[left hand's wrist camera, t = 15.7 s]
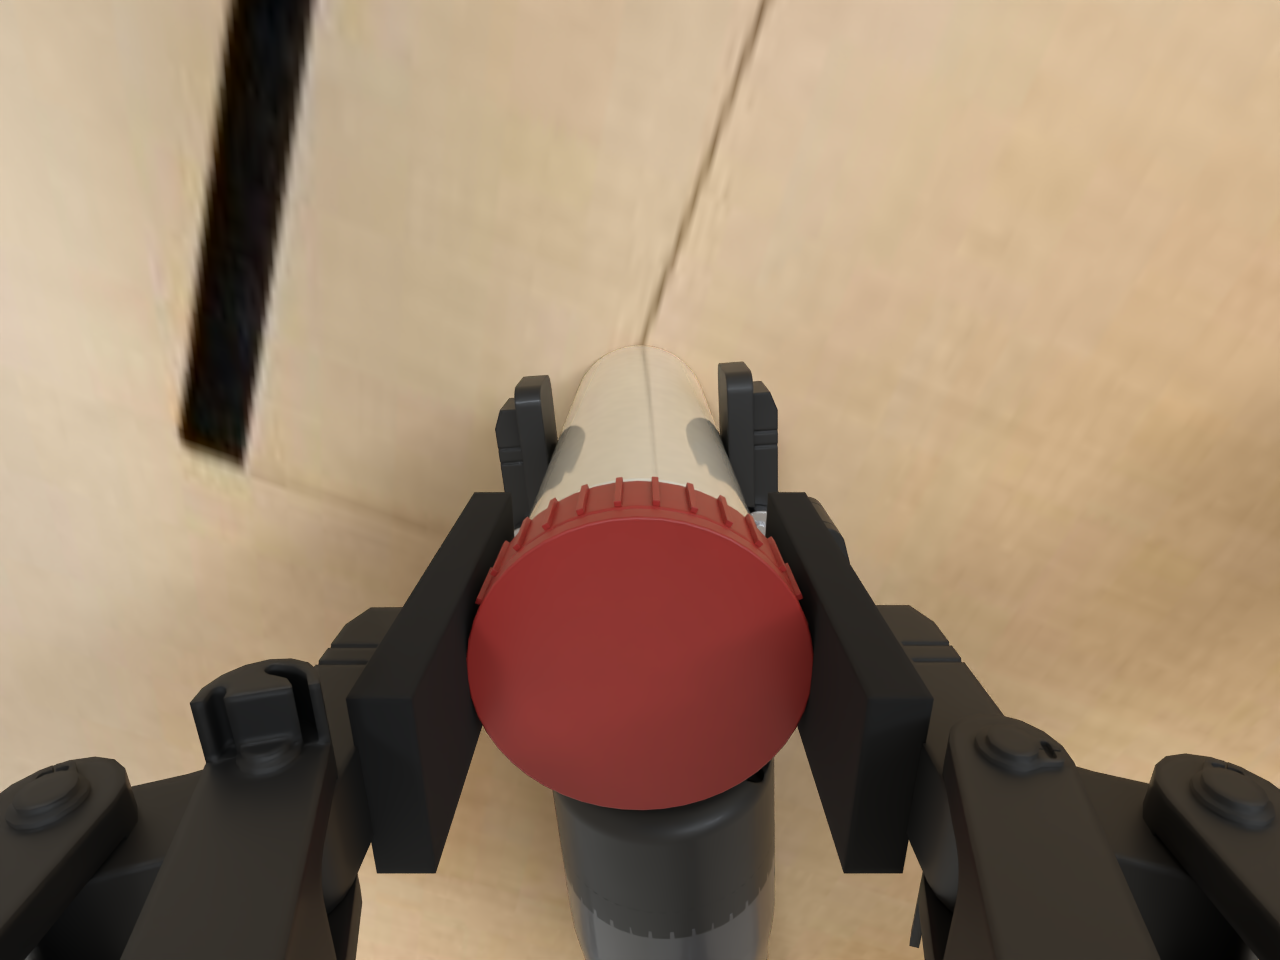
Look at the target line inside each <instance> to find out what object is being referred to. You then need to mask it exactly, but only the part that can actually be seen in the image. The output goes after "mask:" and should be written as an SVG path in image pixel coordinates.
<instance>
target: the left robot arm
mask: <svg viewBox="0 0 1280 960" xmlns="http://www.w3.org/2000/svg"><path fill="white" fill-rule="evenodd" d="M765 537H766V538H767V539H768V538H769V537H772V538H773V539H774V540H775V543H776V545H777V547H778V550H779V552H780V554H781V557H782V559H783V561H784V563H788V565H789V567H790V569H791V571H792V574H793V576H794V578H795V580H796V583H797V585H798V587H799V589H800V592H801V594H802V596H803V599H801V600H799V603H800V605H801V607H802V610H803V612H804V614H805V617H806V619H807V622H808V627H809V630H810V633H811V639H812V645H813V667H812V677H811V686H810V695H809V698H808V701H807V704H806V708H805V711H804V713H803V715H802V717H801V719H800V721H799V723H798V725H797V726H798V730H799V733H800V736H801V739H802V742H803V745H804V749H805V752H806V755H807V758H808V761H809V764H810V768H811V771H812V774H813V777H814V780H815V783H816V787H817V790H818V793H819V796H820V799H821V802H822V805H823V809H824V812H825V815H826V818H827V821H828V824H829V828H830V831H831V834H832V837H833V840H834V843H835V847H836V850H837V853H838V856H839V859H840V862H841V866H842V869H843V872H844V873H903V868H904V863H905V857H906V851H907V846H908V840H909V841H910V843H911V845H912V848H913V850H914V852H915V855H916V857H917V859H918V861H919V864H920V866H921V868H922V870H923V873H922V878H921V883H920V889H919V894H918V899H917V904H916V909H915V914H914V920H913V925H912V930H911V938H910V945H909V946H913V947H917V948H919V945H920V940H921V935H922V941H923V949H924V958H925V960H1258V959H1259V960H1280V789H1278V788H1277V787H1276V786H1274V785H1273V784H1272V783H1270V782H1269V781H1267V780H1265V779H1263V778H1261V777H1259V776H1257V775H1255V774H1253V773H1251V772H1249V771H1247V770H1245V769H1244V768H1242V767H1239V766H1237V765H1234V764H1231V763H1229V762H1228V763H1227V762H1224V761H1222V760H1218V759H1215V758H1212V757H1206V756H1199V755H1192V754H1179V755H1171V756H1166V757H1164V758H1163V759H1162V760H1161V761H1160V762H1159V763H1157V764H1156V765H1155V768H1154V771H1153V774H1152V777H1151V780H1150V783H1149V784H1148V783H1143V782H1139V781H1134V780H1130V779H1125V778H1121V777H1116V776H1112V775H1107V774H1103V773H1098V772H1094V771H1090V770H1087V769H1083V768H1080V767H1076V766H1075V763H1074V761H1073V760H1072V759H1071V757H1070V756H1069V754H1068V753H1067V752H1066V750H1065V749H1064V748H1063V746H1062V745H1060V744H1059V743H1058V742H1057V741H1055V740H1054V739H1053V738H1051V737H1050V736H1049V735H1048V734H1046V733H1045V732H1044V731H1041V730H1039V729H1037V728H1035V727H1033V726H1031V725H1029V724H1027V723H1025V722H1023V721H1020V720H1017V719H1013V718H1009V717H1005V716H1004V715H1003V714H1002V712H1001V711H1000V710H999V708H998V707H997V706H996V704H995V703H994V702H993V700H992V699H991V698H990V696H989V695H988V694H987V692H986V691H985V690H984V688H983V687H982V686H981V684H980V683H979V681H978V680H977V679H976V677H975V676H974V675H973V673H972V672H971V671H970V669H969V668H968V667H967V665H966V664H965V663H964V662H961V657H960V656H959V655H958V653H957V652H956V651H955V649H954V648H953V647H952V646H949V641H948V640H947V639H946V637H945V636H944V635H943V633H942V632H941V631H940V629H939V628H938V627H937V625H936V624H935V623H934V622H933V621H932V620H930V619H929V618H927V617H926V616H924V615H923V614H921V613H920V612H918V611H917V610H915V609H914V608H912V607H911V606H909V605H875V604H874V602H873V600H872V599H871V597H870V596H869V594H868V592H867V591H866V589H865V588H864V586H863V584H862V583H861V581H860V580H859V578H858V576H857V575H856V573H855V572H854V570H853V568H852V567H851V565H850V564H849V562H848V560H847V559H846V557H845V556H844V554H843V552H842V551H841V549H840V548H839V546H838V544H837V543H836V541H835V540H834V538H833V536H832V535H831V533H830V532H829V530H828V528H827V527H826V525H825V524H824V522H823V520H822V519H821V517H820V516H819V514H818V512H817V511H816V509H815V508H814V506H813V504H812V503H811V501H810V500H809V498H808V496H807V495H806V493H805V492H768V503H767V517H766V531H765ZM513 538H514V523H513V509H512V495H511V492H474V494H473V496H472V497H471V499H470V500H469V502H468V504H467V505H466V507H465V508H464V510H463V512H462V513H461V515H460V516H459V518H458V520H457V521H456V523H455V524H454V526H453V528H452V529H451V531H450V532H449V534H448V536H447V537H446V539H445V540H444V542H443V544H442V545H441V547H440V548H439V550H438V552H437V553H436V555H435V556H434V558H433V560H432V561H431V563H430V564H429V566H428V568H427V569H426V571H425V572H424V574H423V576H422V577H421V579H420V580H419V582H418V584H417V585H416V587H415V588H414V590H413V592H412V593H411V595H410V596H409V598H408V600H407V601H406V603H405V604H404V606H403V607H371V608H369V609H368V610H366V611H365V612H363V613H362V614H360V615H359V616H357V617H356V618H355V619H353V620H352V621H350V622H349V623H347V624H346V625H345V626H344V627H343V629H342V630H341V632H340V633H339V634H338V636H337V637H336V638H335V640H334V641H333V642H332V644H331V648H328V649H327V650H326V652H325V653H324V654H323V656H322V657H321V658H320V660H319V665H315V667H313V666H312V665H311V664H310V663H308V662H304V661H300V660H295V659H269V660H265V661H261V662H256V663H252V664H248V665H244V666H242V667H240V668H237V669H235V670H233V671H230V672H228V673H226V674H223V675H221V676H220V677H218V678H217V679H215V680H214V681H212V682H211V683H209V684H208V685H206V686H205V687H203V688H202V689H201V690H200V692H199V693H198V694H197V695H196V696H195V697H194V699H193V700H192V701H191V702H190V706H191V710H192V713H193V717H194V720H195V724H196V728H197V731H198V735H199V739H200V742H201V746H202V749H203V753H204V757H205V760H206V765H205V767H204V769H203V770H200V771H197V772H193V773H190V774H186V775H182V776H177V777H173V778H168V779H164V780H159V781H155V782H150V783H146V784H141V785H137V786H132V787H131V785H130V782H129V779H128V776H127V773H126V770H125V768H124V767H123V766H122V765H121V764H119V763H118V762H117V761H116V760H115V759H108V758H101V757H89V758H82V759H75V760H69V761H66V762H63V763H59V764H56V765H54V766H53V765H52V766H50V767H47V768H44V769H42V770H39V771H37V772H36V773H34V774H32V775H30V776H28V777H26V778H24V779H22V780H20V781H18V782H16V783H14V784H12V785H11V786H9V787H8V788H7V789H5V790H4V791H3V792H1V793H0V960H356V951H357V943H358V934H359V925H360V917H361V908H362V897H361V889H360V883H359V878H358V871H359V868H360V866H361V864H362V862H363V859H364V857H365V855H366V853H367V850H368V848H369V846H370V843H372V848H373V854H374V859H375V865H376V871H377V873H436V871H437V867H438V864H439V861H440V858H441V855H442V852H443V848H444V845H445V842H446V839H447V836H448V833H449V829H450V826H451V823H452V820H453V817H454V814H455V810H456V807H457V804H458V801H459V798H460V795H461V791H462V788H463V785H464V782H465V779H466V776H467V773H468V769H469V766H470V763H471V760H472V757H473V754H474V750H475V747H476V744H477V741H478V738H479V735H480V731H481V728H482V723H481V721H480V719H479V717H478V715H477V712H476V710H475V707H474V704H473V701H472V699H471V695H470V690H469V681H468V671H467V660H466V657H467V646H468V638H469V635H470V631H471V627H472V624H473V620H474V618H475V615H476V613H477V611H478V608H479V606H480V605H478V604H475V602H476V599H477V597H478V594H479V592H480V590H481V588H482V585H483V583H484V581H485V578H486V576H487V574H488V572H489V569H490V567H492V568H493V566H494V563H495V561H496V559H497V556H498V554H499V552H500V550H501V547H502V545H503V543H504V542H505V541H508V542H509V543H510V542H511V541H512V540H513Z"/></svg>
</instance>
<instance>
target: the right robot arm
mask: <svg viewBox="0 0 1280 960" xmlns="http://www.w3.org/2000/svg"><path fill="white" fill-rule="evenodd" d="M718 391H719V422H720V437H721V440H722V442H723V445H724V448H725V450H726V453H727V455H728V458H729V460H730V463H731V466H732V468H733V471H734V473H735V476H736V478H737V481H738V484H739V486H740V489H741V491H742V494H743V497H744V499H745V502H746V504H747V507H748V509H749V512H750V515H751V516H752V517H753V519H754V521H755V524H756V526H757V528H758V529H759V530H760V531H761V533H762V534H763V535H764V536H765V531H766V517H767V503H768V492H778V446H777V443H778V432H777V429H778V410H777V407H776V405H775V403H774V400H773V398H772V396H771V393H770V392H769V390H768V389H767V388H766V386H765V385H764V384H763V383H762V381H754V382H753V380H752V374H751V371H750V369H749V368H748V367H747V366H746V364H745V363H744V362H731V363H719V364H718ZM495 431H496V437H497V444H498V448H499V457H500V462H501V470H502V477H503V483H504V490H505V492H511V495H512V509H513V523H514V537H515V536H516V535H517V534H518V532H519V530H520V527H521V525H522V522H523V520H524V519H525V518H526V517H529V515H530V512H531V509H532V507H533V504H534V502H535V499H536V497H537V494H538V491H539V489H540V486H541V484H542V481H543V478H544V476H545V473H546V471H547V468H548V465H549V463H550V460H551V458H552V455H553V453H554V450H555V447H556V445H557V442H558V439H557V431H556V423H555V415H554V406H553V398H552V390H551V383H550V379H549V376H548V375H542V376H528V377H523V378H522V379H521V381H520V382H519V383H518V384H517V386H516V387H515V394H514V398H509V399H508V401H507V402H506V403H505V405H504V406H503V407H502V408H501V410H500V412H499V416H498V420H497V424H496V428H495ZM808 498H809V500H810V501H811V503H812V504H813V506H814V508H815V509H816V511H817V512H818V514H819V516H820V517H821V519H822V520H823V522H824V524H825V525H826V527H827V528H828V530H829V532H830V533H831V535H832V536H833V538H834V540H835V541H836V543H837V544H838V546H839V548H840V549H841V551H842V552H843V554H844V556H845V557H846V559H847V560H848V562H849V558H848V554H847V550H846V545H845V542H844V539H843V537H842V536H841V534H840V533H839V531H838V529H837V528H836V526H835V525H834V523H833V522H832V520H831V519H830V517H829V516H828V514H827V513H826V511H825V510H824V508H823V507H822V505H821V504H820V503H819V501H817V500H816V499H814V498H811V497H808ZM849 564H850V562H849ZM553 796H554V802H555V809H556V816H557V822H558V829H559V836H560V842H561V849H562V855H563V862H564V869H565V876H566V882H567V889H568V896H569V902H570V908H571V913H572V918H573V923H574V928H575V931H576V934H577V937H578V940H579V943H580V946H581V948H582V951H583V954H584V956H585V960H769V954H768V942H769V937H770V932H771V927H772V921H773V913H774V901H775V834H774V757H773V758H772V759H771V760H770V761H769V762H768V763H767V764H766V765H764V766H763V767H762V768H761V769H760V770H759V771H758V772H756V773H755V774H753V775H752V776H750V777H749V778H747V779H746V780H744V781H743V782H741V783H740V784H738V785H736V786H734V787H732V788H730V789H728V790H726V791H725V792H723V793H720V794H717V795H715V796H712V797H710V798H707V799H705V800H702V801H698V802H694V803H691V804H687V805H683V806H677V807H671V808H665V809H652V810H627V809H616V808H609V807H602V806H598V805H594V804H590V803H585V802H581V801H579V800H576V799H573V798H570V797H568V796H565V795H562V794H560V793H558V792H556V791H554V790H553Z"/></svg>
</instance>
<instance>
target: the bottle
mask: <svg viewBox="0 0 1280 960" xmlns="http://www.w3.org/2000/svg"><path fill="white" fill-rule="evenodd" d="M617 477H623V482H628V481H651V479H652V477H658V478H659V482H663V483H669V484H675V485H681V486H684V487H686V484H687V482H688V483H691V484H693V485H694V490H697V491H701V492H703V493H705V494H707V495H710V496H712V497H714V498H716V499H717V498H718V497H719V495H721V496H723V497H725V498H726V501H727V505H729V506H730V507H732V508H734V509H735V510H737V511H738V512H740V513H741V514H742V515H743V516H744V517H745V516H746V515H747V514H748V513H749V514H750V512H749V509H748V507H747V504H746V502H745V499H744V497H743V494H742V491H741V489H740V486H739V484H738V481H737V478H736V476H735V473H734V471H733V468H732V466H731V463H730V460H729V458H728V455H727V453H726V450H725V448H724V445H723V442H722V440H721V437H720V435H719V432H718V429H717V427H716V424H715V422H714V419H713V417H712V414H711V411H710V409H709V406H708V404H707V401H706V398H705V396H704V393H703V391H702V388H701V386H700V383H699V381H698V379H697V377H696V376H695V374H694V373H693V371H692V370H691V369H690V368H689V367H688V366H687V364H686V363H685V362H683V361H682V360H681V359H680V358H678V357H677V356H675V355H674V354H672V353H670V352H668V351H666V350H663V349H660V348H657V347H652V346H646V345H635V346H627V347H623V348H619V349H617V350H614V351H612V352H610V353H608V354H606V355H605V356H603V357H602V358H600V359H599V360H598V361H596V362H595V363H594V364H593V365H592V366H591V367H590V369H589V370H588V371H587V373H586V374H585V376H584V377H583V379H582V381H581V383H580V385H579V388H578V390H577V393H576V396H575V398H574V401H573V403H572V406H571V409H570V411H569V414H568V416H567V419H566V421H565V424H564V427H563V429H562V432H561V434H560V437H559V440H558V442H557V445H556V447H555V450H554V453H553V455H552V458H551V460H550V463H549V465H548V468H547V471H546V473H545V476H544V478H543V481H542V484H541V486H540V489H539V491H538V494H537V497H536V499H535V502H534V504H533V507H532V509H531V512H530V515H529V518H530V519H531V520H532V519H533V518H534V517H535V516H537V515H538V514H539V513H541V512H542V511H544V510H545V509H547V508H548V505H549V502H550V500H551V499H553V498H556V499H557V501H560V500H562V499H564V498H566V497H568V496H570V495H572V494H574V493H577V492H580V490H581V486H582V485H585V484H588V486H589V488H592V487H596V486H600V485H605V484H610V483H615V482H616V478H617Z"/></svg>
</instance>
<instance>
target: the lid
mask: <svg viewBox="0 0 1280 960" xmlns="http://www.w3.org/2000/svg"><path fill="white" fill-rule="evenodd" d="M801 599H803V596H802V594H801V592H800V589H799V587H798V585H797V583H796V580H795V578H794V576H793V574H792V571H791V569H790V567H789V565H788V563H784V561H783V559H782V557H781V554H780V552H779V550H778V547H777V545H776V543H775V540H774V539H773V538H772V537H769V538H768V539H767V538H766V537H765V536H764V535H763V534H762V533H761V531H760V530H759V529H758V528H757V526H756V524H755V521H754V519H753V517H752V516H751V515H750V514H749V513H748V514H747V515H746V516H745V517H744V516H743V515H742V514H741V513H740V512H738V511H737V510H735V509H734V508H732V507H730V506H729V505H727V501H726V498H725V497H723V496H721V495H719V497H718V498H717V499H716V498H714V497H712V496H710V495H707V494H705V493H703V492H701V491H697V490H694V485H693V484H691V483H688V482H687V484H686V487H684V486H681V485H675V484H669V483H663V482H659V478H658V477H652V479H651V481H628V482H623V477H617V478H616V482H615V483H610V484H605V485H600V486H596V487H592V488H589V486H588V484H585V485H582V486H581V490H580V492H577V493H574V494H572V495H570V496H568V497H566V498H564V499H562V500H560V501H557V499H556V498H553V499H551V500H550V502H549V505H548V508H547V509H545V510H544V511H542V512H541V513H539V514H538V515H537V516H535V517H534V518H533V519H532V520H531V519H530V518H529V517H526V518H525V519H524V520H523V522H522V525H521V527H520V530H519V532H518V534H517V535H516V536H515V537H514V538H513V540H512V541H511V542H510V543H509V542H508V541H505V542H504V543H503V545H502V547H501V550H500V552H499V554H498V556H497V559H496V561H495V563H494V566H493V568H492V567H490V569H489V572H488V574H487V576H486V578H485V581H484V583H483V585H482V588H481V590H480V592H479V594H478V597H477V599H476V602H475V604H478V605H480V606H479V608H478V611H477V613H476V615H475V618H474V620H473V624H472V627H471V631H470V635H469V638H468V646H467V657H466V660H467V671H468V681H469V690H470V695H471V699H472V701H473V704H474V707H475V710H476V712H477V715H478V717H479V719H480V721H481V723H482V725H483V726H484V728H485V730H486V732H487V734H488V735H489V736H490V738H491V739H492V740H493V742H494V743H495V745H496V746H497V747H498V748H499V750H500V751H501V752H502V753H503V754H504V755H505V756H506V757H507V758H508V759H509V760H510V761H511V762H512V763H513V764H514V765H516V766H517V767H518V768H519V769H520V770H522V771H523V772H524V773H525V774H527V775H528V776H530V777H531V778H533V779H534V780H536V781H537V782H539V783H541V784H542V785H544V786H546V787H548V788H550V789H552V790H554V791H556V792H558V793H560V794H562V795H565V796H568V797H570V798H573V799H576V800H579V801H581V802H585V803H590V804H594V805H598V806H602V807H609V808H616V809H627V810H652V809H665V808H671V807H677V806H683V805H687V804H691V803H694V802H698V801H702V800H705V799H707V798H710V797H712V796H715V795H717V794H720V793H723V792H725V791H726V790H728V789H730V788H732V787H734V786H736V785H738V784H740V783H741V782H743V781H744V780H746V779H747V778H749V777H750V776H752V775H753V774H755V773H756V772H758V771H759V770H760V769H761V768H762V767H763V766H764V765H766V764H767V763H768V762H769V761H770V760H771V759H772V758H773V757H774V756H775V755H776V754H777V753H778V752H779V750H780V749H781V748H782V747H783V746H784V745H785V744H786V742H787V741H788V739H789V738H790V736H791V735H792V733H793V732H794V730H795V729H796V727H797V725H798V723H799V721H800V719H801V717H802V715H803V713H804V711H805V708H806V704H807V701H808V698H809V695H810V686H811V677H812V667H813V645H812V639H811V633H810V630H809V627H808V622H807V619H806V617H805V614H804V612H803V610H802V607H801V605H800V603H799V600H801Z"/></svg>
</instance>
